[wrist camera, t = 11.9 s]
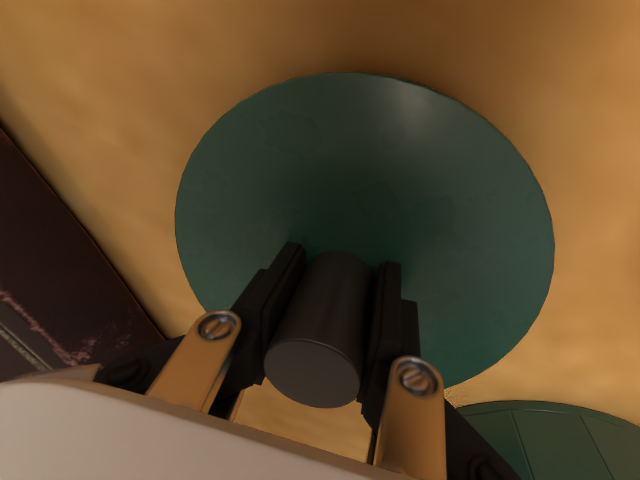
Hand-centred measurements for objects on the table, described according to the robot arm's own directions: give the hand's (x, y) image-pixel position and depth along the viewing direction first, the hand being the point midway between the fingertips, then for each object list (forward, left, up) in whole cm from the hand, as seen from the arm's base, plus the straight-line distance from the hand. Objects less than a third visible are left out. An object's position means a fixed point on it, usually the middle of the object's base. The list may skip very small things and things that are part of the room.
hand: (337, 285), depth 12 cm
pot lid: (0, 0, -1) cm, 1 cm away
